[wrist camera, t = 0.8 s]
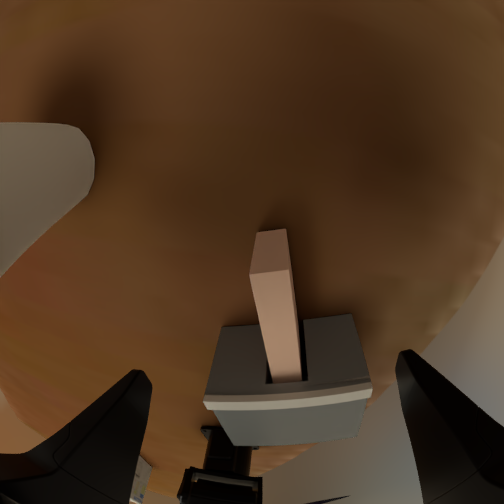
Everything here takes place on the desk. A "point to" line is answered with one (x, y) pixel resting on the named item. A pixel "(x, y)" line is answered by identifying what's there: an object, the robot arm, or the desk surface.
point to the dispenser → (290, 386)
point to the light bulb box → (140, 481)
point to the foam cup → (39, 181)
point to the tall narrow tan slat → (276, 305)
